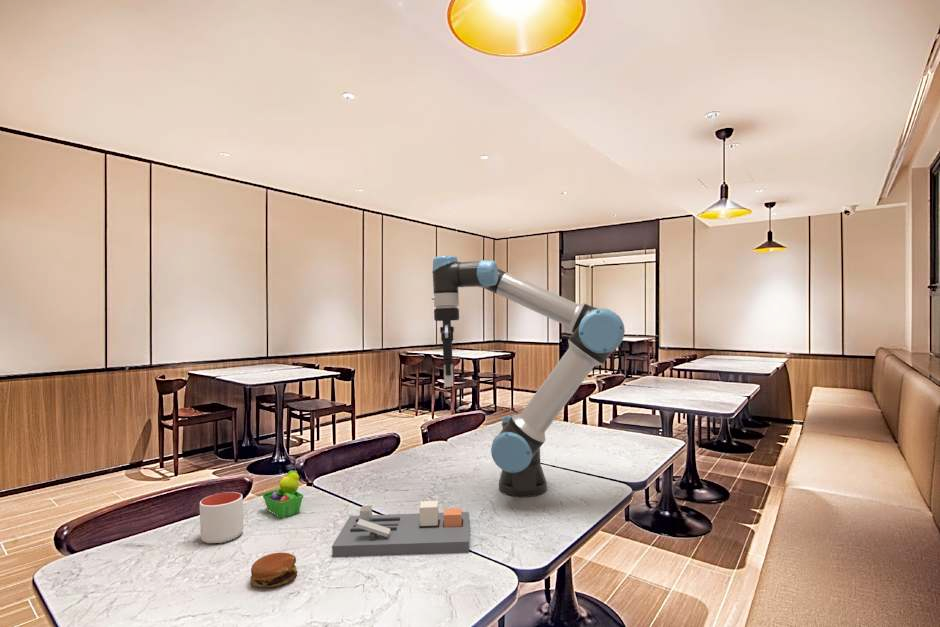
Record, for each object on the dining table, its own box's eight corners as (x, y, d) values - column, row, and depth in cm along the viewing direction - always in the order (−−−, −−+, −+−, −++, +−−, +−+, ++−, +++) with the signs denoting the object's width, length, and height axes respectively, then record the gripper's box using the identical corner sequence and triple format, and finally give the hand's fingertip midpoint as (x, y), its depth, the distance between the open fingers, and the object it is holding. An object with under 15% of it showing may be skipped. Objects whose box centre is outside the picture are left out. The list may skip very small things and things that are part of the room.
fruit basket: (261, 511, 149) (260, 473, 149) (289, 502, 155) (288, 465, 155) (280, 521, 141) (278, 480, 141) (309, 511, 148) (308, 472, 148)
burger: (246, 577, 111) (245, 555, 111) (290, 564, 116) (289, 544, 116) (256, 597, 103) (255, 574, 103) (302, 582, 108) (302, 560, 108)
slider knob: (372, 520, 132) (371, 505, 132) (369, 526, 128) (369, 510, 128) (363, 521, 132) (362, 505, 132) (360, 526, 128) (359, 511, 128)
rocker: (389, 531, 124) (390, 528, 124) (387, 537, 121) (388, 534, 121) (358, 521, 124) (359, 518, 124) (355, 526, 121) (356, 523, 121)
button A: (462, 525, 132) (461, 508, 132) (461, 533, 128) (461, 514, 128) (445, 526, 132) (444, 508, 132) (444, 533, 128) (443, 515, 128)
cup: (226, 547, 126) (225, 506, 126) (191, 544, 128) (190, 505, 128) (251, 530, 136) (250, 492, 136) (218, 528, 138) (217, 491, 138)
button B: (438, 518, 132) (438, 500, 132) (437, 525, 128) (437, 507, 128) (421, 519, 132) (421, 501, 132) (420, 526, 128) (419, 507, 128)
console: (469, 521, 137) (468, 506, 137) (469, 552, 119) (468, 535, 119) (350, 525, 137) (349, 510, 137) (332, 556, 119) (331, 540, 119)
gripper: (435, 308, 160) (437, 383, 160) (432, 307, 147) (435, 389, 147) (459, 307, 160) (461, 382, 160) (458, 306, 147) (461, 388, 147)
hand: (448, 385), depth 153 cm, fingers closed
